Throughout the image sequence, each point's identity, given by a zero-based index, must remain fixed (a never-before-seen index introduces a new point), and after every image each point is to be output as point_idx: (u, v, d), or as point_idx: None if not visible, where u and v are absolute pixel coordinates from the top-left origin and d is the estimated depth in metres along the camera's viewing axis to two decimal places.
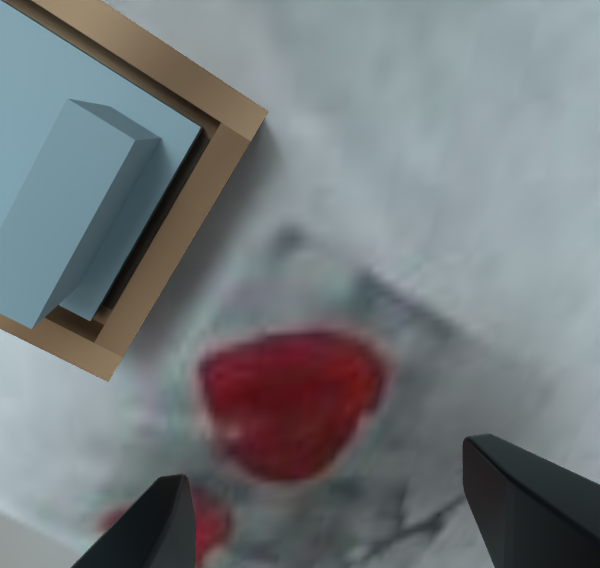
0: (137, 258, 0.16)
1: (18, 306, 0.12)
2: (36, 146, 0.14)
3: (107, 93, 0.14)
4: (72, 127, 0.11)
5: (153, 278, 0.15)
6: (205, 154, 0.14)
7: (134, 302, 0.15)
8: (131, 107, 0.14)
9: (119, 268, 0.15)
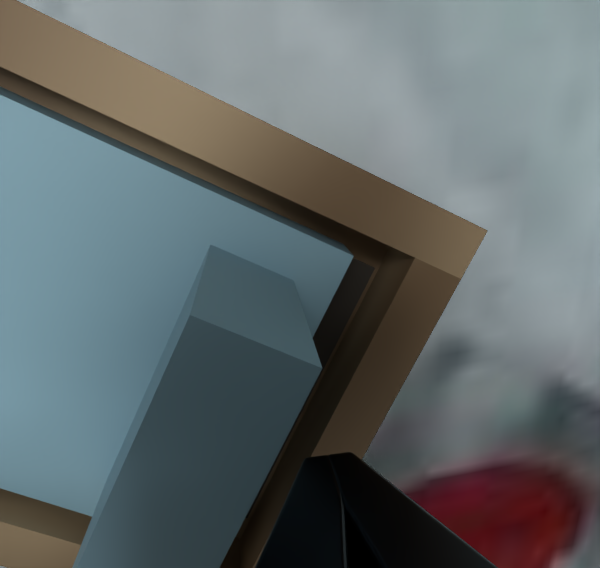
0: None
1: None
2: (102, 320, 0.09)
3: (205, 225, 0.09)
4: (203, 364, 0.06)
5: None
6: (392, 308, 0.09)
7: None
8: (244, 241, 0.09)
9: None
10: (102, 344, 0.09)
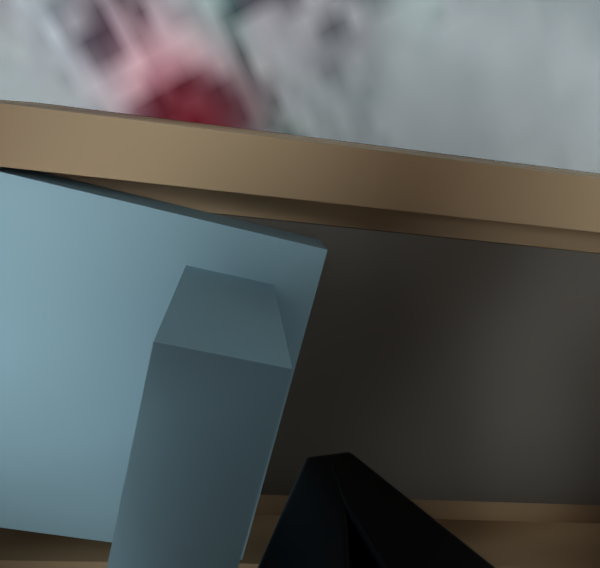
0: None
1: None
2: (98, 356, 0.09)
3: (177, 248, 0.09)
4: (177, 386, 0.06)
5: None
6: None
7: None
8: (218, 256, 0.09)
9: (262, 479, 0.10)
10: (103, 379, 0.09)
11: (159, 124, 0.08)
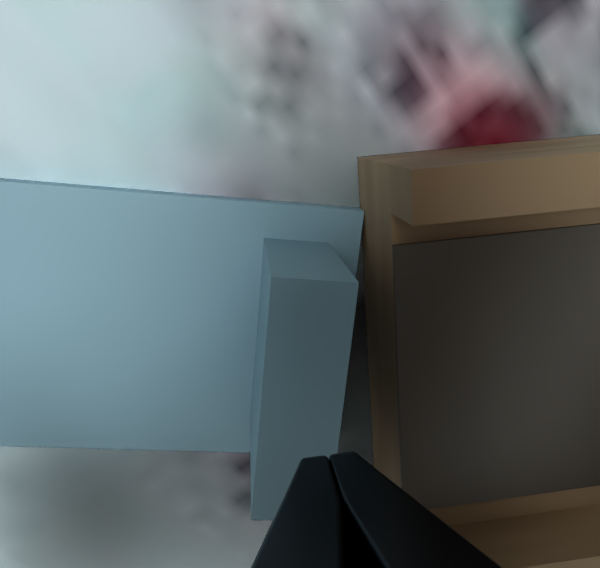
0: None
1: None
2: (210, 314, 0.13)
3: (256, 226, 0.12)
4: (289, 303, 0.09)
5: None
6: None
7: None
8: (285, 228, 0.12)
9: None
10: (216, 330, 0.13)
11: None
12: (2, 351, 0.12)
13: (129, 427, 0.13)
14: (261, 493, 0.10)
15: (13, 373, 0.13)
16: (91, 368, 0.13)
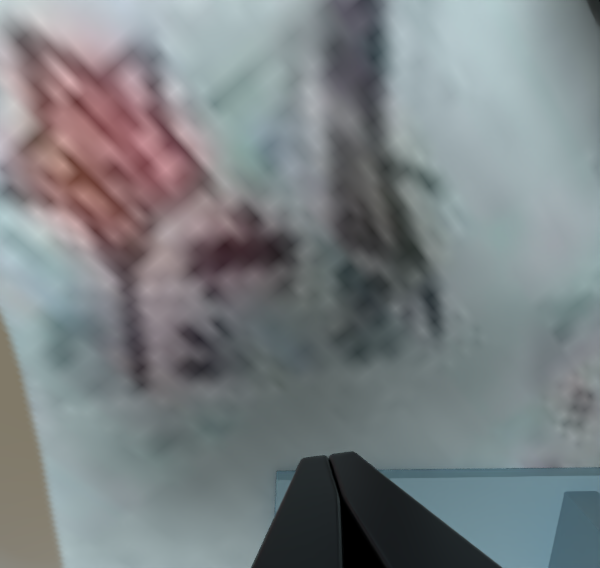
0: None
1: None
2: (532, 528, 0.24)
3: (561, 486, 0.24)
4: None
5: None
6: None
7: None
8: (576, 486, 0.24)
9: None
10: (534, 535, 0.24)
11: None
12: None
13: None
14: None
15: None
16: None
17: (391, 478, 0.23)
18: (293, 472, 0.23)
